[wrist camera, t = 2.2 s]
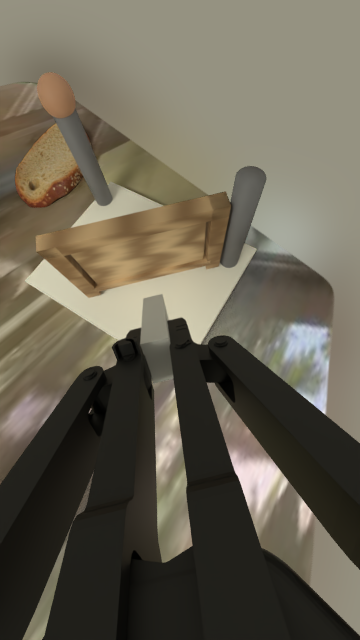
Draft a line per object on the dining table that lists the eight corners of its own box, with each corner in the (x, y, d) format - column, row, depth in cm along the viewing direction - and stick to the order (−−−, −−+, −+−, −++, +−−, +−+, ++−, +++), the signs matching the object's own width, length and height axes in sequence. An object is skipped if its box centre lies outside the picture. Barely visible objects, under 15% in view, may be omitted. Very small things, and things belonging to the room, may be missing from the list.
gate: (215, 255, 37) (225, 191, 25) (218, 266, 36) (231, 205, 24) (87, 286, 36) (35, 236, 24) (88, 297, 36) (36, 251, 24)
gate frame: (27, 283, 39) (-110, 193, 21) (111, 186, 44) (56, 50, 27) (180, 379, 33) (164, 366, 15) (255, 253, 38) (307, 134, 21)
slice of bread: (79, 124, 51) (70, 104, 47) (114, 175, 46) (108, 157, 42) (3, 159, 49) (-12, 140, 45) (31, 216, 44) (17, 201, 40)
